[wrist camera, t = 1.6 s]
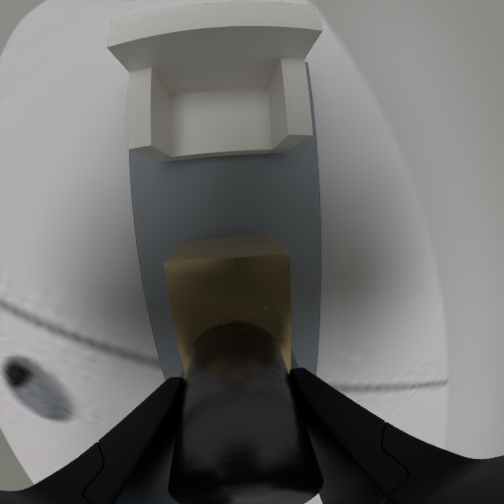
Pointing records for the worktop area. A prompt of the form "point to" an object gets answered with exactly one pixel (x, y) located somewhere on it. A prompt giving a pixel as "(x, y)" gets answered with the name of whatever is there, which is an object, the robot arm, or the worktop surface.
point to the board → (231, 227)
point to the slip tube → (237, 376)
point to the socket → (217, 78)
